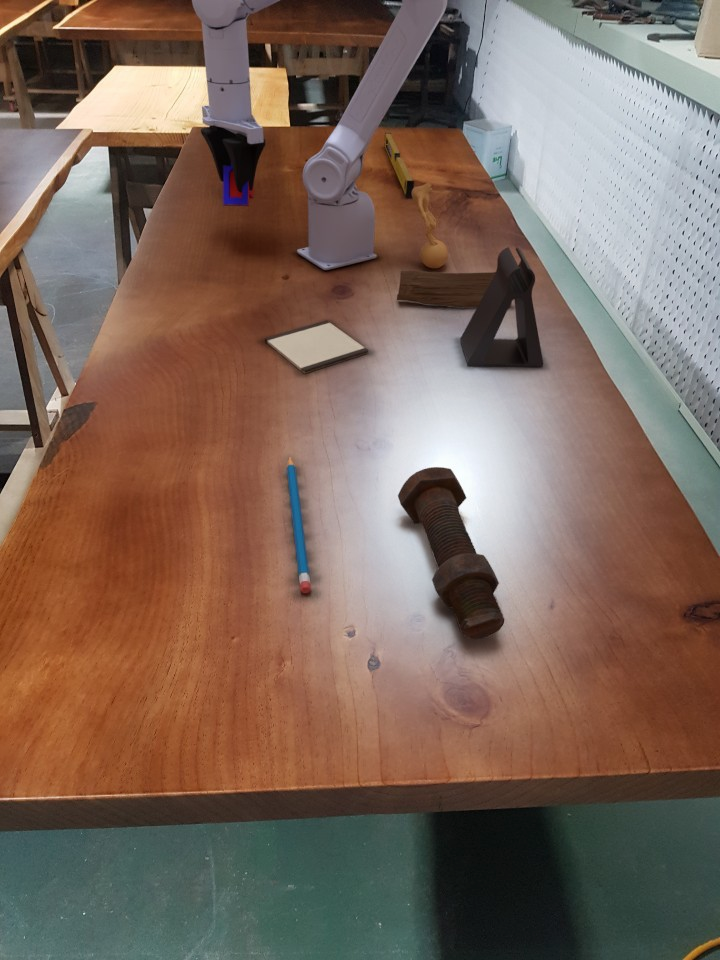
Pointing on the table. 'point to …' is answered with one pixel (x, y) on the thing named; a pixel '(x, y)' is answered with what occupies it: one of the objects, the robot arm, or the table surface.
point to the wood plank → (444, 288)
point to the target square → (315, 346)
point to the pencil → (298, 529)
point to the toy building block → (234, 190)
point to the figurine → (429, 229)
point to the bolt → (453, 551)
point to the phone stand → (490, 314)
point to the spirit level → (399, 165)
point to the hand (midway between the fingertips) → (236, 185)
